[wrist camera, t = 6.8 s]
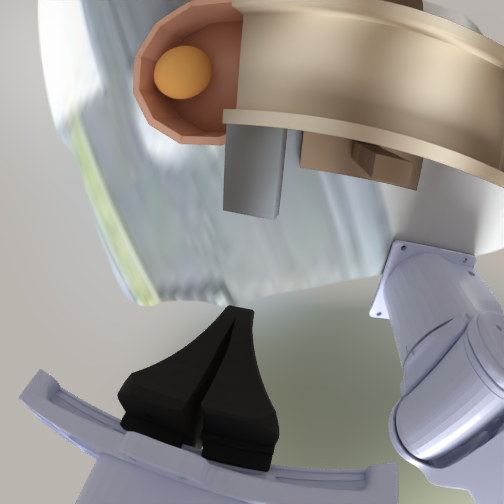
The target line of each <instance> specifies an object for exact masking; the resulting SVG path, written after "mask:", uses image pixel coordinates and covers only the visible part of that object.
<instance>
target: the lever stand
mask: <svg viewBox="0 0 504 504" xmlns="http://www.w3.org/2000/svg"><path fill="white" fill-rule="evenodd" d="M382 1H387V2H391V3H395V4H399V5H403V6H407V7H411V8H414V9H417V10H421V11H423V3H422V0H382ZM422 162H423V157H421V156H417V155H414V154H410V153H407V152H403V151H400V150H396V149H392V148H388V147H384V146H380V145H376V144H372V143H368V142H363V141H359V140H354V139H349V138H344V137H339V136H333V135H327V134H321V133H315V132H309V131H304V133H303V143H302V152H301V161H300V168H306V169H313V170H319V171H325V172H331V173H337V174H343V175H348V176H354V177H359V178H364V179H369V180H374V181H378V182H383V183H387V184H392V185H396V186H400V187H405V188H409V189H413V190H417V186H418V181H419V177H420V172H421V167H422Z"/></svg>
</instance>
